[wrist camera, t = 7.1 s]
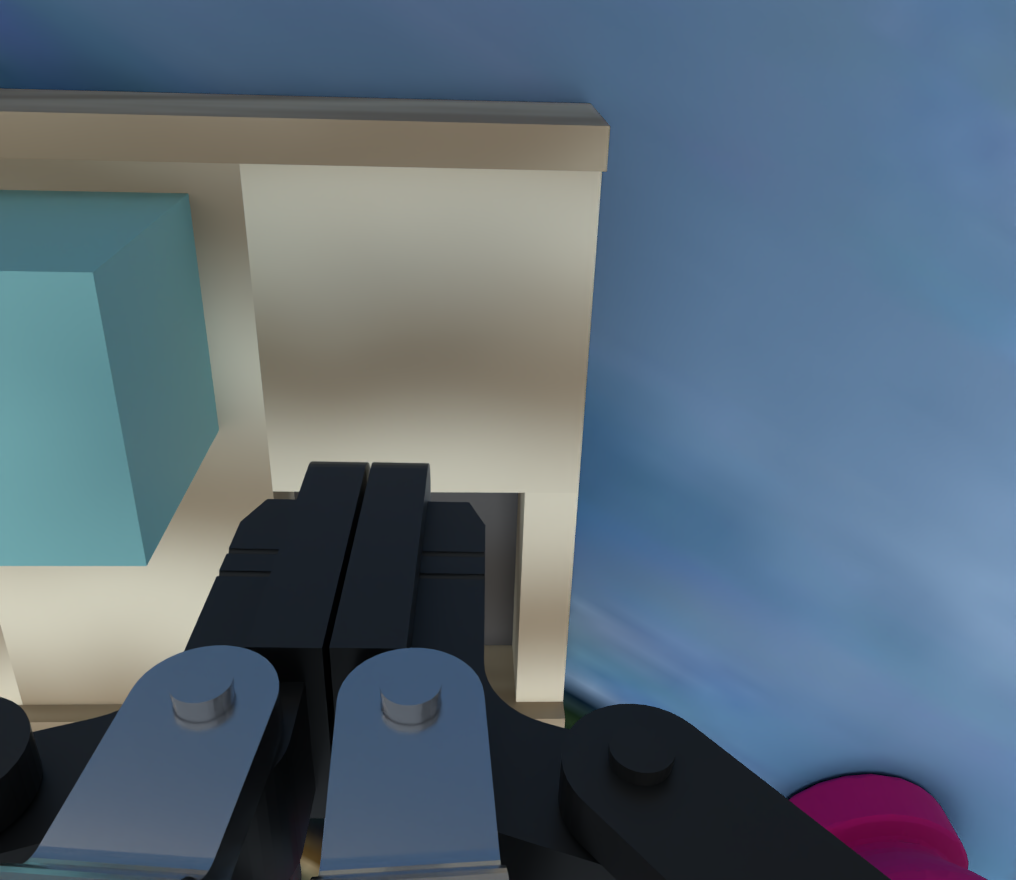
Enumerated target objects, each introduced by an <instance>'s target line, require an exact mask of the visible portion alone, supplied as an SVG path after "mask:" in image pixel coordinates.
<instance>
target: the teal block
mask: <svg viewBox="0 0 1016 880" xmlns="http://www.w3.org/2000/svg"><path fill="white" fill-rule="evenodd" d="M218 431H219V426H218V418H217V410H216V402H215V395H214V387H213V379H212V372H211V364H210V356H209V348H208V341H207V333H206V325H205V318H204V310H203V302H202V294H201V287H200V279H199V271H198V264H197V256H196V248H195V240H194V233H193V225H192V217H191V209H190V202H189V194H188V193H140V192H88V191H37V190H0V566H147V565H148V563H149V561H150V559H151V557H152V555H153V553H154V551H155V550H156V548H157V546H158V544H159V542H160V540H161V538H162V536H163V535H164V533H165V531H166V529H167V527H168V525H169V523H170V521H171V519H172V518H173V516H174V514H175V512H176V510H177V508H178V506H179V504H180V503H181V501H182V499H183V497H184V495H185V493H186V491H187V489H188V488H189V486H190V484H191V482H192V480H193V478H194V476H195V474H196V473H197V471H198V469H199V467H200V465H201V463H202V461H203V459H204V457H205V456H206V454H207V452H208V450H209V448H210V446H211V444H212V442H213V441H214V439H215V437H216V435H217V433H218Z"/></svg>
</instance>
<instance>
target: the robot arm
mask: <svg viewBox="0 0 1016 880" xmlns="http://www.w3.org/2000/svg"><path fill="white" fill-rule="evenodd" d="M484 623H485V524H484V523H483V521H482V520H481V518H480V517H479V516H478V514H477V513H476V511H475V510H474V508H473V507H472V506H471V504H470V503H469V502H431V479H430V464H429V463H395V462H373V463H372V465H371V468H370V464H369V463H368V462H328V461H311V462H310V463H309V465H308V468H307V471H306V474H305V477H304V479H303V482H302V485H301V488H300V491H299V494H298V497H297V499H266V500H265V501H264V502H263V503H262V504H261V505H259V506H258V507H257V508H256V509H255V510H253V511H252V512H251V513H250V514H249V515H248V516H246V517H245V518H244V519H243V520H242V521H240V523H239V526H238V528H237V530H236V533H235V535H234V537H233V540H232V542H231V544H230V546H229V553H228V554H226V556H225V558H224V560H223V563H222V565H221V567H220V569H219V576H216V579H215V581H214V583H213V586H212V588H211V590H210V593H209V595H208V597H207V599H206V602H205V604H204V606H203V609H202V611H201V613H200V616H199V618H198V620H197V622H196V625H195V627H194V629H193V632H192V634H191V636H190V639H189V641H188V643H187V645H186V648H185V650H184V652H181V653H178V654H176V655H174V656H171V657H169V658H167V659H165V660H163V661H162V662H160V663H158V664H157V665H155V666H154V667H152V668H151V669H150V670H149V671H147V672H146V673H145V674H144V675H143V676H142V677H141V678H140V679H139V680H138V681H137V682H136V684H135V685H134V686H133V688H132V689H131V691H130V692H129V694H128V696H127V698H126V699H125V701H124V703H123V704H122V706H121V708H120V709H119V710H118V711H115V712H112V713H110V714H107V715H103V716H99V717H96V718H92V719H87V720H83V721H79V722H74V723H70V724H65V725H61V726H56V727H52V728H47V729H43V730H39V731H34V732H33V731H32V728H31V724H30V721H29V719H28V716H27V714H26V712H25V711H24V710H23V709H22V708H21V707H20V706H19V705H17V704H16V703H14V702H13V701H11V700H8V699H5V698H3V697H0V880H301V867H300V859H301V856H302V853H303V848H304V843H305V838H306V834H307V829H308V824H309V819H310V818H325V824H324V834H323V844H322V854H321V863H320V871H319V876H318V877H312V878H311V880H891V879H890V878H888V877H887V876H886V875H885V874H883V873H882V872H881V871H879V870H878V869H877V868H876V867H874V866H873V865H872V864H870V863H869V862H868V861H866V860H865V859H864V858H863V857H861V856H860V855H859V854H857V853H856V852H855V851H854V850H852V849H851V848H850V847H848V846H847V845H846V844H845V843H843V842H842V841H841V840H839V839H838V838H837V837H836V836H834V835H833V834H832V833H830V832H829V831H828V830H827V829H825V828H824V827H823V826H821V825H820V824H819V823H818V822H816V821H815V820H814V819H812V818H811V817H810V816H809V815H807V814H806V813H805V812H803V811H802V810H801V809H800V808H798V807H797V806H796V805H794V804H793V803H792V802H791V801H789V800H788V799H787V798H785V797H784V796H783V795H782V794H780V793H779V792H778V791H776V790H775V789H774V788H773V787H771V786H770V785H769V784H767V783H766V782H765V781H764V780H762V779H761V778H760V777H758V776H757V775H756V774H755V773H753V772H752V771H751V770H749V769H748V768H747V767H746V766H744V765H743V764H742V763H740V762H739V761H738V760H736V759H735V758H734V757H733V756H731V755H730V754H729V753H727V752H726V751H725V750H724V749H722V748H721V747H720V746H718V745H717V744H716V743H715V742H713V741H712V740H711V739H709V738H708V737H707V736H706V735H704V734H703V733H702V732H700V731H699V730H698V729H697V728H695V727H694V726H693V725H691V724H690V723H688V722H687V721H685V720H684V719H682V718H681V717H679V716H677V715H675V714H673V713H671V712H668V711H665V710H662V709H659V708H656V707H651V706H647V705H639V704H618V705H612V706H607V707H603V708H600V709H597V710H595V711H593V712H591V713H589V714H587V715H585V716H584V717H582V718H581V719H580V720H578V721H577V722H576V723H575V724H574V726H573V727H572V728H571V729H566V728H562V727H559V726H555V725H551V724H548V723H544V722H541V721H538V720H535V719H532V718H530V717H528V716H526V715H524V714H522V713H520V712H518V711H516V710H515V709H513V708H512V707H510V706H509V705H508V704H506V703H505V702H504V701H503V700H502V699H501V698H500V697H499V696H498V695H497V694H496V692H495V691H494V690H493V688H492V687H491V685H490V683H489V681H488V679H487V676H486V673H485V666H484Z"/></svg>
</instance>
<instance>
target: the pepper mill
mask: <svg viewBox="0 0 1016 880" xmlns="http://www.w3.org/2000/svg"><path fill="white" fill-rule="evenodd" d="M789 801H791V802H792V803H793V804H794V805H796V806H797V807H798V808H800V809H801V810H802V811H803V812H805V813H806V814H807V815H809V816H810V817H811V818H812V819H814V820H815V821H816V822H818V823H819V824H820V825H821V826H823V827H824V828H825V829H827V830H828V831H829V832H830V833H832V834H833V835H834V836H836V837H837V838H838V839H839V840H841V841H842V842H843V843H845V844H846V845H847V846H848V847H850V848H851V849H852V850H854V851H855V852H856V853H857V854H859V855H860V856H861V857H863V858H864V859H865V860H866V861H868V862H869V863H870V864H872V865H873V866H874V867H876V868H877V869H878V870H879V871H881V872H882V873H883V874H885V875H886V876H887V877H888V878H890V879H891V880H987V879H985V878H983V877H981V876H980V875H978V874H976V873H974V872H972V871H970V870H968V858H967V854H966V851H965V849H964V847H963V845H962V843H961V841H960V839H959V838H958V836H957V834H956V832H955V830H954V829H953V827H952V825H951V823H950V822H949V820H948V818H947V816H946V814H945V813H944V811H943V809H942V808H941V806H940V805H939V804H938V802H937V801H936V800H935V799H934V797H933V796H931V795H930V794H929V793H928V792H926V791H925V790H924V789H923V788H921V787H919V786H917V785H915V784H913V783H911V782H908V781H906V780H904V779H901V778H896V777H889V776H883V775H876V774H862V775H851V776H843V777H839V778H835V779H832V780H828V781H824V782H821V783H818V784H816V785H814V786H812V787H810V788H808V789H806V790H804V791H802V792H800V793H798V794H796V795H794V796H793V797H792V798H790V799H789Z"/></svg>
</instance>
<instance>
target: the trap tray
mask: <svg viewBox="0 0 1016 880" xmlns="http://www.w3.org/2000/svg"><path fill="white" fill-rule="evenodd" d="M609 135H610V125H609V124H608V123H607V122H606V121H605V120H604V118H603V117H602V116H601V115H600V114H599V113H598V112H597V110H596V109H595V108H594V107H593V106H592V105H591V104H590V103H552V102H513V101H473V100H434V99H394V98H355V97H315V96H276V95H236V94H197V93H157V92H118V91H78V90H39V89H0V190H37V191H88V192H140V193H188V194H189V202H190V209H191V217H192V225H193V233H194V240H195V248H196V256H197V264H198V271H199V279H200V287H201V294H202V302H203V310H204V318H205V325H206V333H207V341H208V348H209V356H210V364H211V372H212V379H213V387H214V395H215V402H216V410H217V418H218V426H219V431H218V433H217V435H216V437H215V439H214V441H213V442H212V444H211V446H210V448H209V450H208V452H207V454H206V456H205V457H204V459H203V461H202V463H201V465H200V467H199V469H198V471H197V473H196V474H195V476H194V478H193V480H192V482H191V484H190V486H189V488H188V489H187V491H186V493H185V495H184V497H183V499H182V501H181V503H180V504H179V506H178V508H177V510H176V512H175V514H174V516H173V518H172V519H171V521H170V523H169V525H168V527H167V529H166V531H165V533H164V535H163V536H162V538H161V540H160V542H159V544H158V546H157V548H156V550H155V551H154V553H153V555H152V557H151V559H150V561H149V563H148V565H147V566H0V697H3V698H5V699H8V700H11V701H13V702H14V703H16V704H17V705H19V706H20V707H21V708H22V709H23V710H24V711H25V712H26V714H27V716H28V719H29V721H30V724H31V728H32V731H33V732H34V731H39V730H43V729H47V728H52V727H56V726H61V725H65V724H70V723H74V722H79V721H83V720H87V719H92V718H96V717H99V716H103V715H107V714H110V713H112V712H115V711H118V710H119V709H120V708H121V706H122V704H123V703H124V701H125V699H126V698H127V696H128V694H129V692H130V691H131V689H132V688H133V686H134V685H135V684H136V682H137V681H138V680H139V679H140V678H141V677H142V676H143V675H144V674H145V673H146V672H147V671H149V670H150V669H151V668H152V667H154V666H155V665H157V664H158V663H160V662H162V661H163V660H165V659H167V658H169V657H171V656H174V655H176V654H178V653H181V652H184V650H185V648H186V645H187V643H188V641H189V639H190V636H191V634H192V632H193V629H194V627H195V625H196V622H197V620H198V618H199V616H200V613H201V611H202V609H203V606H204V604H205V602H206V599H207V597H208V595H209V593H210V590H211V588H212V586H213V583H214V581H215V579H216V576H219V569H220V567H221V565H222V563H223V560H224V558H225V556H226V554H228V553H229V546H230V544H231V542H232V540H233V537H234V535H235V533H236V530H237V528H238V526H239V523H240V521H242V520H243V519H244V518H245V517H246V516H248V515H249V514H250V513H251V512H252V511H253V510H255V509H256V508H257V507H258V506H259V505H261V504H262V503H263V502H264V501H265V500H266V499H297V497H298V494H299V491H300V488H301V485H302V482H303V479H304V477H305V474H306V471H307V468H308V465H309V463H310V462H311V461H328V462H368V463H369V464H370V468H371V465H372V463H373V462H395V463H429V464H430V479H431V502H469V503H470V504H471V506H472V507H473V508H474V510H475V511H476V513H477V514H478V516H479V517H480V518H481V520H482V521H483V523H484V524H485V623H484V666H485V673H486V676H487V679H488V681H489V683H490V685H491V687H492V688H493V690H494V691H495V692H496V694H497V695H498V696H499V697H500V698H501V699H502V700H503V701H504V702H505V703H506V704H508V705H509V706H510V707H512V708H513V709H515V710H516V711H518V712H520V713H522V714H524V715H526V716H528V717H530V718H532V719H535V720H538V721H541V722H544V723H548V724H551V725H555V726H559V727H562V728H564V725H565V715H564V707H563V692H564V678H565V665H566V651H567V638H568V624H569V611H570V597H571V584H572V570H573V557H574V543H575V530H576V516H577V503H578V489H579V476H580V462H581V448H582V435H583V421H584V408H585V394H586V381H587V367H588V354H589V340H590V327H591V313H592V300H593V286H594V273H595V259H596V246H597V232H598V219H599V205H600V192H601V178H602V172H607V161H608V148H609Z"/></svg>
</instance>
